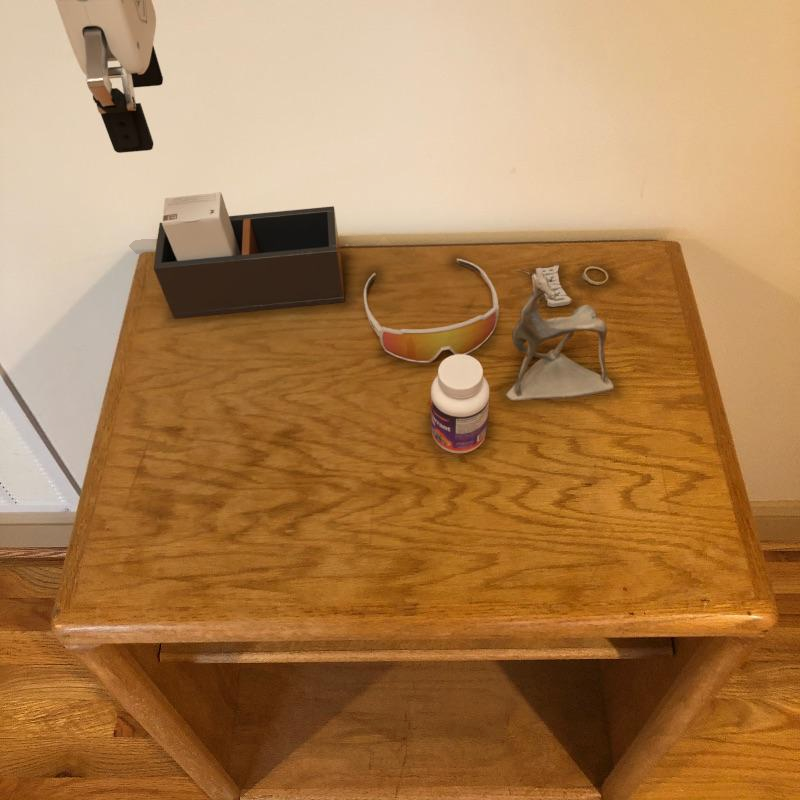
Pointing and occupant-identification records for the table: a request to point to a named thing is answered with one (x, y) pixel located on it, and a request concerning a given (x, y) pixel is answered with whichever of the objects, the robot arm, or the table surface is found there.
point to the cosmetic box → (199, 227)
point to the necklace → (553, 286)
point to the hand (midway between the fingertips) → (140, 115)
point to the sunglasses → (437, 332)
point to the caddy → (258, 266)
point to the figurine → (555, 351)
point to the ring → (594, 281)
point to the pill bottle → (459, 404)
